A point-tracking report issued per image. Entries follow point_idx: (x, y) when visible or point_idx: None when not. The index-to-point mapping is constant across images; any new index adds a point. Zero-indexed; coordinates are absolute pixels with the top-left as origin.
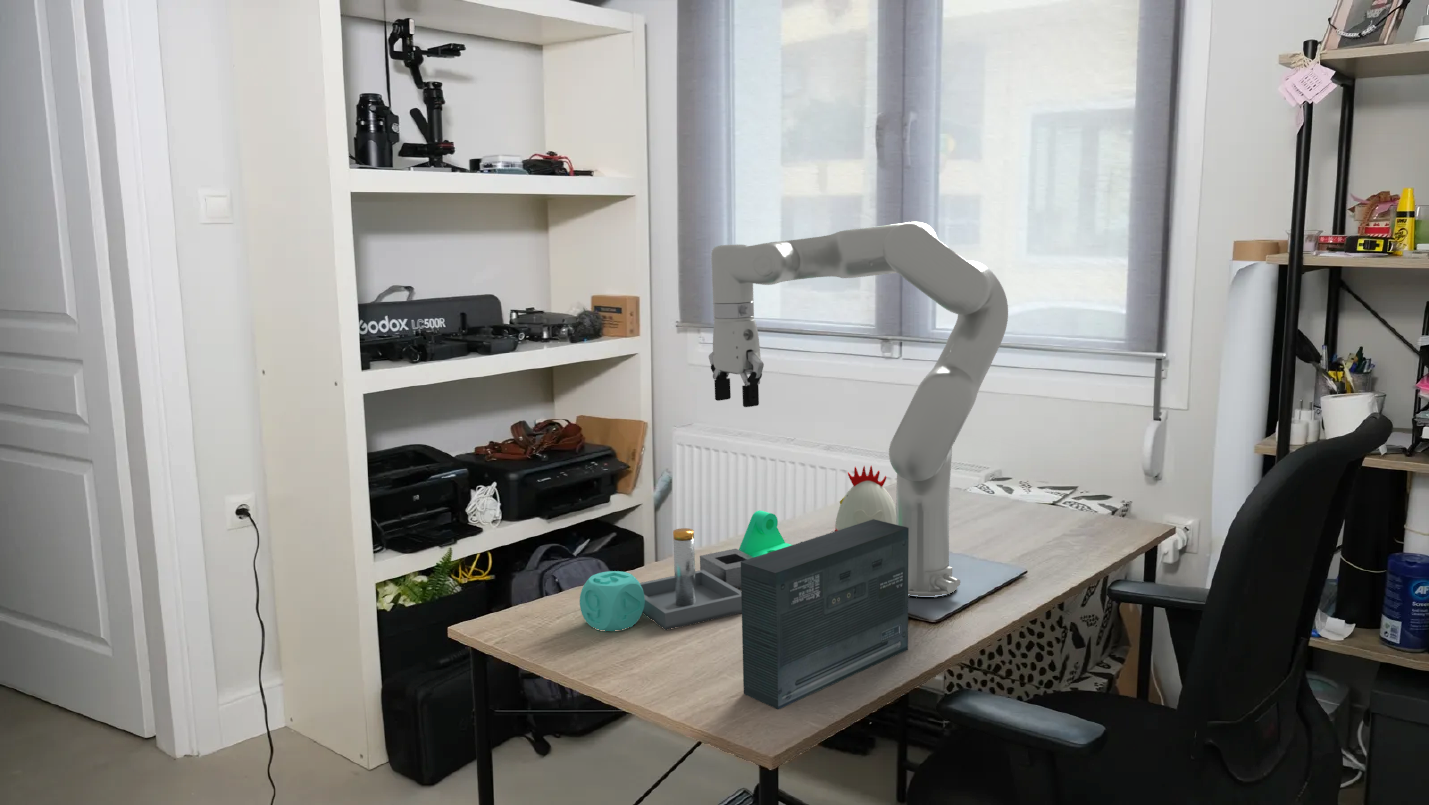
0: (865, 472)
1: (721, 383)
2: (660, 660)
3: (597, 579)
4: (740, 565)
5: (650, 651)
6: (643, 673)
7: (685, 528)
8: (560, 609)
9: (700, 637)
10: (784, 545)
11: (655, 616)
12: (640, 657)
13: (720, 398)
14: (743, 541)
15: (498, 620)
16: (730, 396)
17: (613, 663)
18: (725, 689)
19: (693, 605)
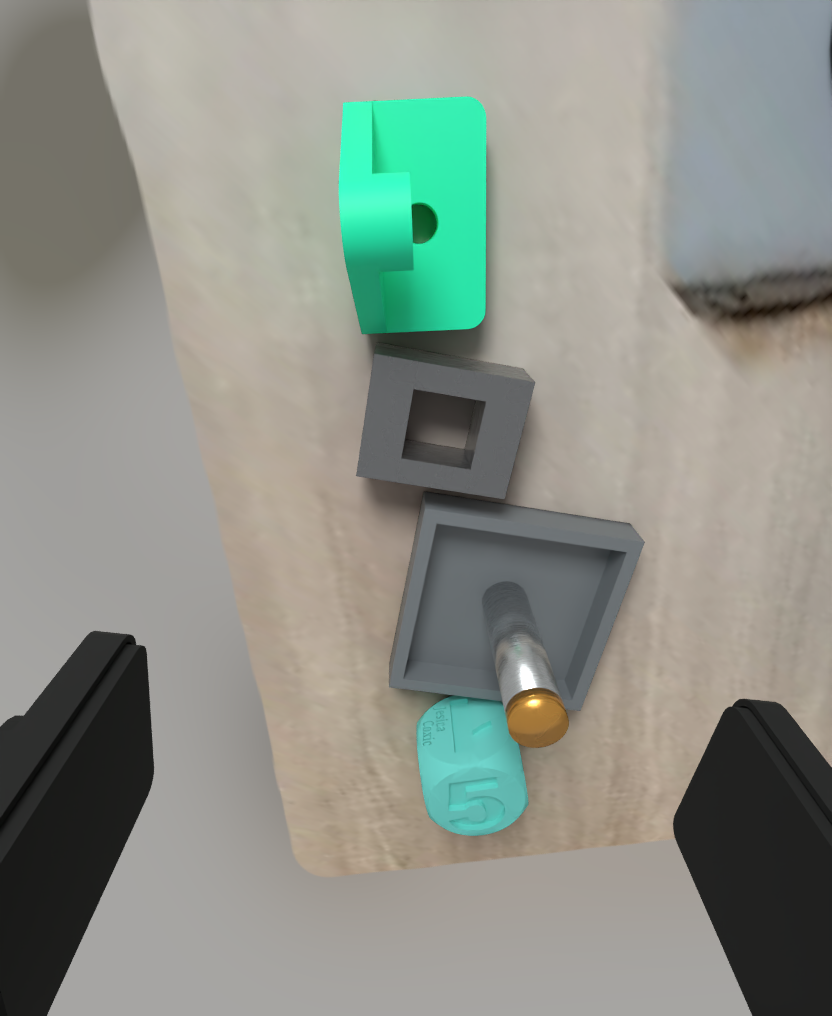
0: None
1: (42, 954)
2: (659, 750)
3: (456, 817)
4: (506, 448)
5: (618, 743)
6: (672, 786)
7: (522, 709)
8: (337, 754)
9: (645, 662)
10: (395, 131)
11: None
12: (623, 763)
13: (147, 766)
14: (363, 313)
15: (313, 833)
16: (131, 654)
17: (606, 797)
18: (818, 741)
19: (592, 655)
